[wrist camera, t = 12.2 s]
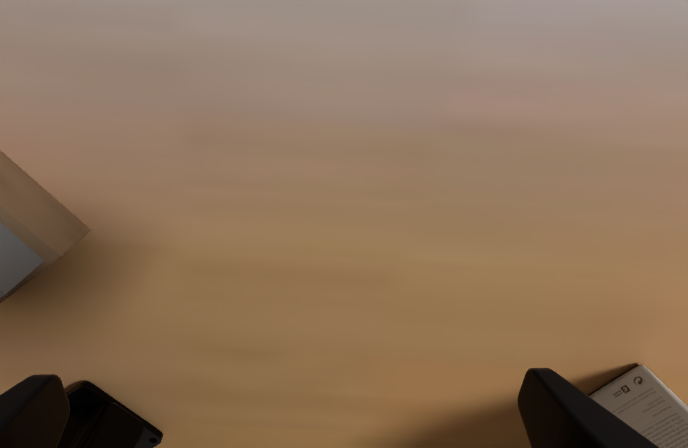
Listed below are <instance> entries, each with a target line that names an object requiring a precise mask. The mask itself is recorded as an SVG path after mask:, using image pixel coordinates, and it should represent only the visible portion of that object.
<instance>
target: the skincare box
mask: <svg viewBox="0 0 688 448" xmlns="http://www.w3.org/2000/svg"><path fill="white" fill-rule="evenodd" d="M589 397H590V398H592V399H593V400H595V401H596V402H597V403H599V404H600V405H601V406H603V407H604V408H606V409H607V410H608V411H610V412H611V413H612V414H614V415H615V416H617V417H618V418H619V419H621V420H622V421H623V422H625V423H626V424H628V425H629V426H630V427H632V428H633V429H635V430H636V431H637V432H639V433H640V434H641V435H643V436H644V437H646V438H647V439H648V440H650V441H651V442H652V443H654V444H655V445H657V446H658V447H659V448H688V406H687V405H686V404H684V403H683V402H682V401H681V400H680V399H679V398H678V397H677V396H676V395H675V394H674V393H673V392H672V391H671V390H670V389H669V388H668V387H667V386H666V385H665V384H664V383H663V382H662V381H661V380H659V379H658V378H657V377H656V376H655V375H654V374H653V373H652V372H651V371H650V370H649V369H647V368H646V367H645V366H644V365H639V366H637V367H635V368H634V369H632V370H630V371H628V372H627V373H625V374H624V375H622V376H620V377H619V378H617V379H616V380H614V381H612V382H611V383H609V384H608V385H606V386H604V387H603V388H601V389H600V390H598V391H597V392H595V393H594V394H592V395H591V396H589Z"/></svg>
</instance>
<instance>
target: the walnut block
mask: <svg viewBox="0 0 688 448" xmlns="http://www.w3.org/2000/svg"><path fill="white" fill-rule="evenodd" d="M0 222H1V223H2V224H3V225H4V226H5V227H7V228H8V229H9V230H10V231H11V232H12V233H13V234H15V235H16V236H17V237H18V238H19V239H20V240H21V241H23V242H24V243H25V244H26V245H27V246H28V247H29V248H30V249H32V250H33V251H34V252H35V253H36V254H37V255H38V256H40V257H41V258H42V259H43V260H44V261H43V262H42V263H41V264H40V265H39V266H38V267H37V268H35V269H34V270H33V271H32V272H31V273H30V274H29V275H27V276H26V277H25V278H24V279H23V280H22V281H20V282H19V283H18V284H17V285H16V286H15V287H14V288H12V289H11V290H10V291H9V292H8V293H7V294H5V295H4V296H2V297H1V298H0V303H1V302H2V301H3V300H5V299H6V298H7V297H9V296H10V295H11V294H12V293H14V292H15V291H16V290H18V289H19V288H20V287H22V286H23V285H24V284H26V283H27V282H28V281H30V280H31V279H32V278H34V277H35V276H36V275H37V274H39V273H40V272H41V271H43V270H44V269H45V268H47V267H48V266H49V265H51V264H52V263H53V262H55V261H56V260H57V259H59V258H60V257H61V256H62V255H63V254H65V253H66V252H67V251H68V250H69V249H70V248H71V247H72V246H73V245H75V244H76V243H77V242H78V241H79V240H80V239H81V238H82V237H83V236H85V235H86V234H87V233H88V232H89V231H90V230H91V229H89V228H88V227H87V226H86V225H85V224H84V223H83V222H81V221H80V220H79V219H78V218H77V217H76V216H75V215H73V214H72V213H71V212H70V211H69V210H68V209H67V208H65V207H64V206H63V205H62V204H61V203H60V202H59V201H58V200H56V199H55V198H54V197H53V196H52V195H51V194H50V193H48V192H47V191H46V190H45V189H44V188H43V187H42V186H40V185H39V184H38V183H37V182H36V181H35V180H34V179H32V178H31V177H30V176H29V175H28V174H27V173H26V172H25V171H23V170H22V169H21V168H20V167H19V166H18V165H17V164H15V163H14V162H13V161H12V160H11V159H10V158H9V157H7V156H6V155H5V154H4V153H3V152H2V151H1V150H0Z"/></svg>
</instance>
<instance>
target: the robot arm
mask: <svg viewBox="0 0 688 448" xmlns="http://www.w3.org/2000/svg"><path fill="white" fill-rule="evenodd" d="M518 407H519V411H520V414H521V417H522V420H523V423H524V426H525V429H526V432H527V435H528V438H529V441H530V444H531V447H532V448H659V447H658V446H657V445H655V444H654V443H652V442H651V441H650V440H648V439H647V438H646V437H644V436H643V435H641V434H640V433H639V432H637V431H636V430H635V429H633V428H632V427H630V426H629V425H628V424H626V423H625V422H623V421H622V420H621V419H619V418H618V417H617V416H615V415H614V414H612V413H611V412H610V411H608V410H607V409H606V408H604V407H603V406H601V405H600V404H599V403H597V402H596V401H595V400H593V399H592V398H590V397H589V396H588V395H586V394H585V393H583V392H582V391H581V390H579V389H578V388H577V387H575V386H574V385H572V384H571V383H570V382H568V381H567V380H566V379H564V378H563V377H561V376H560V375H559V374H557V373H556V372H555V371H553V370H551V369H549V368H530V369H529V370H528V371H527V372H526V374H525V377H524V380H523V383H522V386H521V389H520V392H519V395H518ZM162 437H163V433H162V432H161V431H159V430H158V429H156V428H155V427H153V426H152V425H151V424H149V423H148V422H146V421H145V420H143V419H142V418H141V417H139V416H138V415H136V414H135V413H133V412H132V411H131V410H129V409H128V408H126V407H125V406H123V405H122V404H121V403H119V402H118V401H116V400H115V399H113V398H112V397H111V396H109V395H108V394H106V393H105V392H103V391H102V390H101V389H99V388H98V387H96V386H95V385H93V384H91V383H88V382H84V383H81V384H80V385H78V386H77V387H75V388H73V389H72V390H70V391H69V392H67V393H65V390H64V387H63V384H62V381H61V379H60V378H59V377H58V376H57V375H54V374H51V375H32V376H30V377H28V378H26V379H25V380H23V381H22V382H20V383H18V384H17V385H15V386H14V387H12V388H11V389H9V390H8V391H6V392H5V393H3V394H1V395H0V448H153V447H155V446H157V445H158V444H160V443H161V440H162Z"/></svg>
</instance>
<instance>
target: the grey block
mask: <svg viewBox="0 0 688 448" xmlns="http://www.w3.org/2000/svg"><path fill="white" fill-rule="evenodd" d="M43 261H44V260H43V259H42V258H41V257H40V256H38V255H37V254H36V253H35V252H34V251H33V250H32V249H30V248H29V247H28V246H27V245H26V244H25V243H24V242H23V241H21V240H20V239H19V238H18V237H17V236H16V235H15V234H13V233H12V232H11V231H10V230H9V229H8V228H7V227H5V226H4V225H3V224H2V223H1V222H0V298H1V297H2V296H4V295H5V294H7V293H8V292H9V291H10V290H11V289H12V288H14V287H15V286H16V285H17V284H18V283H19V282H20V281H22V280H23V279H24V278H25V277H26V276H27V275H29V274H30V273H31V272H32V271H33V270H34V269H35V268H37V267H38V266H39V265H40V264H41V263H42V262H43Z"/></svg>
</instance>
